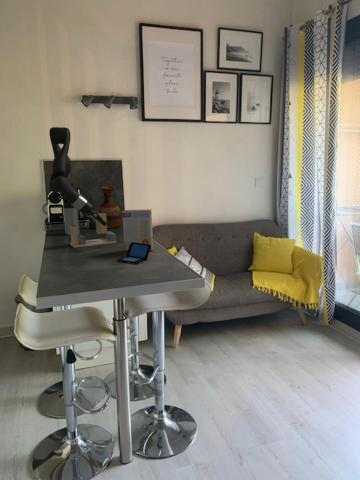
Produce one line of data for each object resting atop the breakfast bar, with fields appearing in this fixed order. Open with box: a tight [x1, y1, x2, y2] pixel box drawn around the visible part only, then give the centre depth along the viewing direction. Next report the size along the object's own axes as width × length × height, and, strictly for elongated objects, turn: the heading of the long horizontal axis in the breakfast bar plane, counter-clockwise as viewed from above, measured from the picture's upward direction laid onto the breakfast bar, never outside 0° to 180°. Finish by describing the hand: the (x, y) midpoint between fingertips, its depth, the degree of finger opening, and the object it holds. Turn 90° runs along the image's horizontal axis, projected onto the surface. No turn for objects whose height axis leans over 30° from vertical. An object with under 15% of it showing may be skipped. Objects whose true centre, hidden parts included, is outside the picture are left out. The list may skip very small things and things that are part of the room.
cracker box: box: [121, 208, 154, 253], centre depth 194 cm, size 14×6×21 cm, turn 84°
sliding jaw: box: [70, 225, 86, 245], centre depth 214 cm, size 12×6×10 cm, turn 26°
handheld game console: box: [116, 242, 151, 264], centre depth 174 cm, size 12×11×7 cm
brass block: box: [95, 213, 108, 235], centre depth 218 cm, size 5×5×11 cm
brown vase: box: [94, 185, 123, 229], centre depth 276 cm, size 20×20×30 cm
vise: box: [69, 230, 118, 248], centre depth 218 cm, size 12×24×5 cm, turn 116°
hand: (104, 224), depth 219 cm, fingers closed on brass block, 5 cm apart
